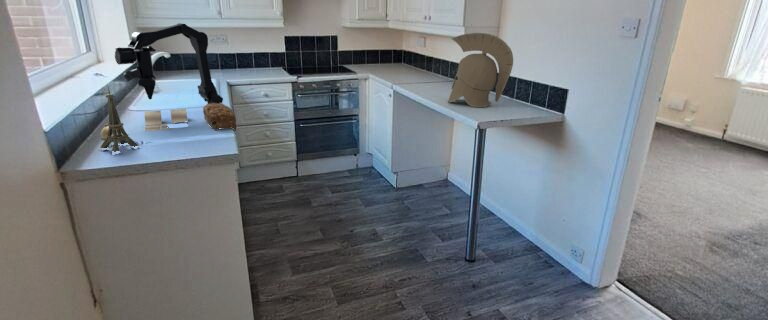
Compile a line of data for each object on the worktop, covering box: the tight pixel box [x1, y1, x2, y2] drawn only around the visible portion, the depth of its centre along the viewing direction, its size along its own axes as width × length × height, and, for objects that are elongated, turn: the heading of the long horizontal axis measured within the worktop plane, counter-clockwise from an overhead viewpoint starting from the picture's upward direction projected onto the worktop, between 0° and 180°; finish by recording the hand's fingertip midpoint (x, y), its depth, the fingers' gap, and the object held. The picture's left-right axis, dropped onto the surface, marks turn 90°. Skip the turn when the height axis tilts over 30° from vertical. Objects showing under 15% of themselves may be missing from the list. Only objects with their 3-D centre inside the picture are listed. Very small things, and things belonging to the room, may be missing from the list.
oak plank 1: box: [143, 110, 163, 126], centre depth 192 cm, size 8×6×2 cm
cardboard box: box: [144, 123, 174, 132], centre depth 188 cm, size 9×17×2 cm, turn 116°
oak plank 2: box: [170, 108, 189, 124], centre depth 196 cm, size 8×6×2 cm
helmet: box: [447, 32, 514, 108], centre depth 246 cm, size 20×36×40 cm, turn 64°
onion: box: [100, 123, 122, 140], centre depth 171 cm, size 8×8×7 cm
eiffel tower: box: [99, 82, 139, 152], centre depth 159 cm, size 11×11×25 cm
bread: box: [202, 102, 237, 132], centre depth 193 cm, size 19×11×10 cm, turn 31°
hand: (150, 98), depth 191 cm, fingers open, 2 cm apart
